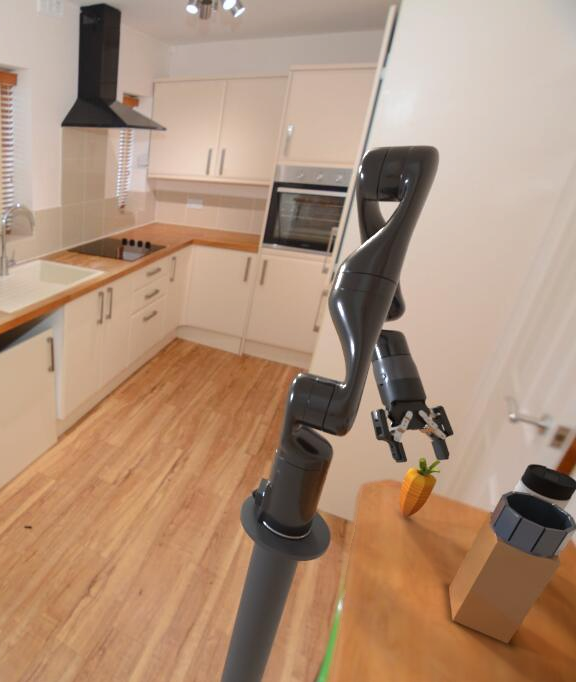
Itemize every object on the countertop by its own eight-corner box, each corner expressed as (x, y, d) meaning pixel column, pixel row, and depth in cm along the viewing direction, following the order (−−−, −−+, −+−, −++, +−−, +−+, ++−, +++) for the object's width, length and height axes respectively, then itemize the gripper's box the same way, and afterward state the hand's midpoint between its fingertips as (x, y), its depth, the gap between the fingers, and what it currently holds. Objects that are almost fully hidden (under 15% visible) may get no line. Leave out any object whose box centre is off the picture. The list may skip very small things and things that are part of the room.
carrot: (416, 511, 95) (441, 454, 88) (421, 528, 91) (448, 470, 84) (388, 504, 97) (411, 447, 90) (392, 520, 93) (416, 462, 86)
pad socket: (449, 621, 74) (508, 517, 64) (445, 584, 80) (498, 484, 70) (511, 648, 70) (584, 541, 60) (502, 607, 76) (567, 504, 66)
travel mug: (479, 555, 85) (525, 471, 77) (487, 536, 89) (532, 455, 80) (524, 578, 81) (578, 492, 72) (530, 557, 85) (582, 473, 76)
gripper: (416, 383, 98) (441, 460, 93) (353, 386, 97) (374, 464, 92) (445, 374, 91) (474, 457, 86) (377, 377, 90) (402, 461, 85)
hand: (422, 461), depth 89 cm, fingers open, 8 cm apart
